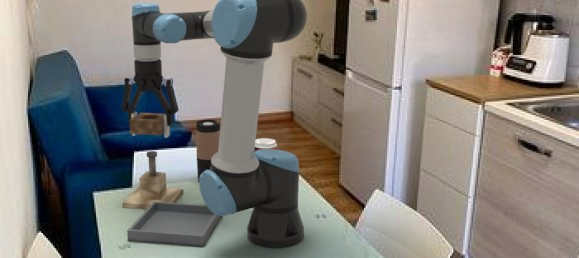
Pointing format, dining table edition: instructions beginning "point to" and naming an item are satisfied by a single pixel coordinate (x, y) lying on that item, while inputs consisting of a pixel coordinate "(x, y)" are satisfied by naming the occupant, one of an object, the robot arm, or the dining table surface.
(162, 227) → the tray
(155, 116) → the collar
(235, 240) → the dining table surface
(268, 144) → the paper cup
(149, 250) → the dining table surface
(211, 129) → the travel mug
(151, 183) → the stake stand
